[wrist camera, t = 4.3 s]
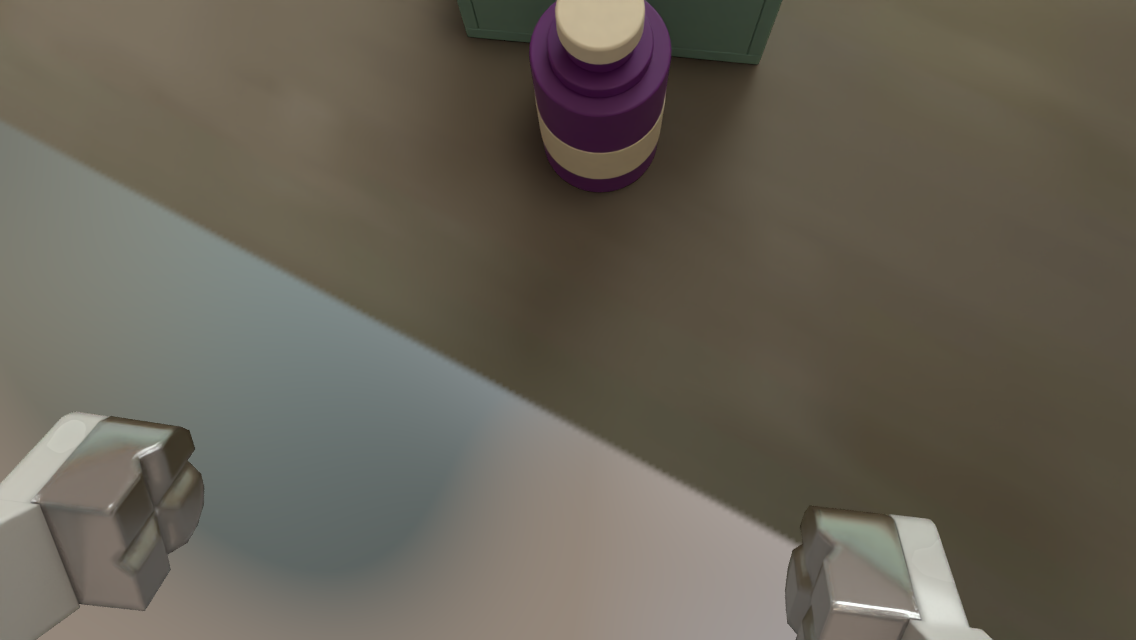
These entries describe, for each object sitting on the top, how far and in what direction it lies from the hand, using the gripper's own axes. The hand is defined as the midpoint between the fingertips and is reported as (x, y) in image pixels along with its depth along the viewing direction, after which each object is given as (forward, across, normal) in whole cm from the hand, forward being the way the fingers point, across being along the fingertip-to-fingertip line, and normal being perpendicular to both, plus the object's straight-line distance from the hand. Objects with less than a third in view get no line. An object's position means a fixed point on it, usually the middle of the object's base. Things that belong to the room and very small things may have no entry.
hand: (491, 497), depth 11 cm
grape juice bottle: (+19, 0, +3) cm, 19 cm away
